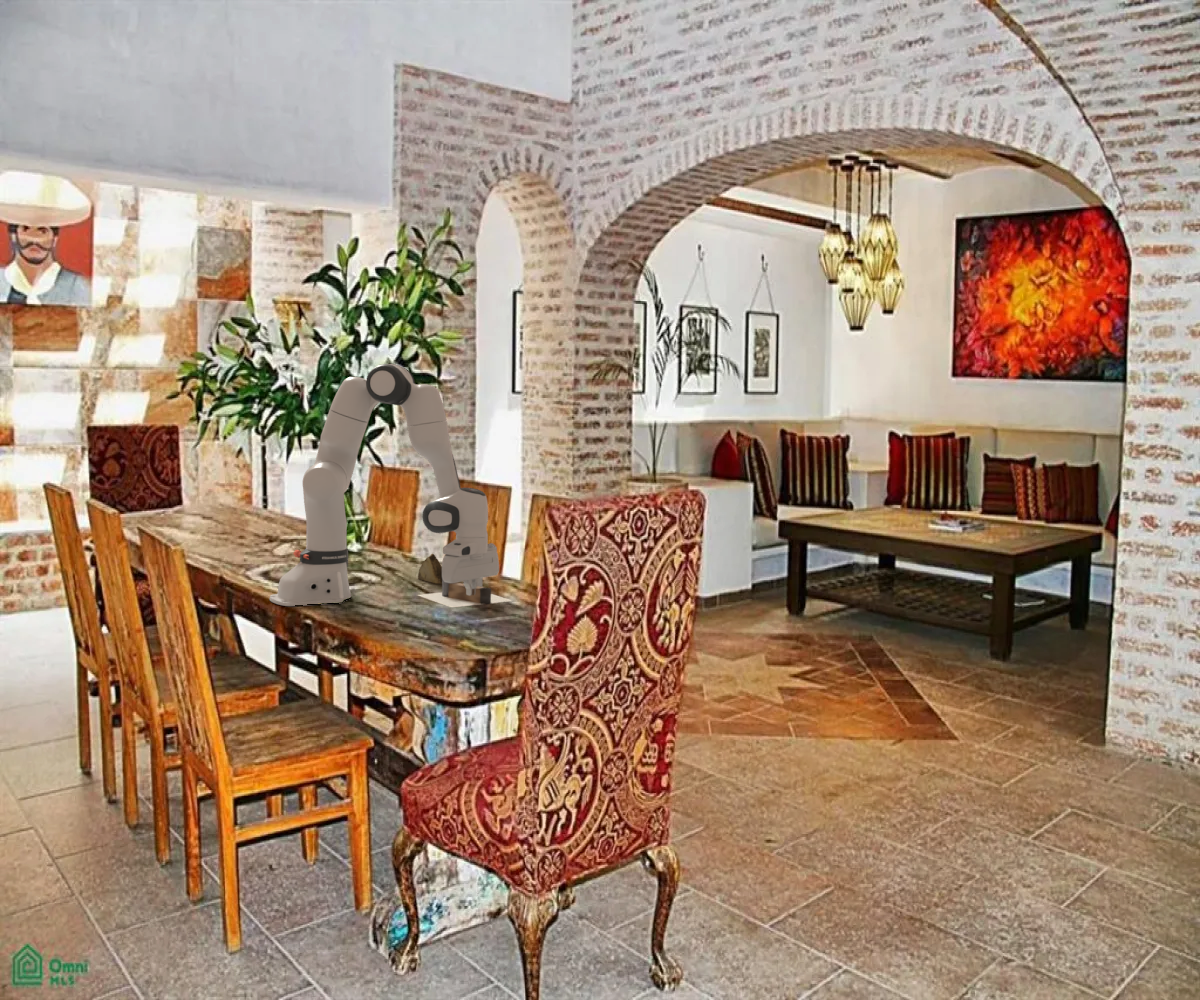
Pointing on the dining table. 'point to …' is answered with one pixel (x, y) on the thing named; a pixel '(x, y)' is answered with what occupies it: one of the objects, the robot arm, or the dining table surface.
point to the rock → (431, 570)
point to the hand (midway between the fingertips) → (470, 594)
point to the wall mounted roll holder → (452, 602)
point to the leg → (460, 593)
